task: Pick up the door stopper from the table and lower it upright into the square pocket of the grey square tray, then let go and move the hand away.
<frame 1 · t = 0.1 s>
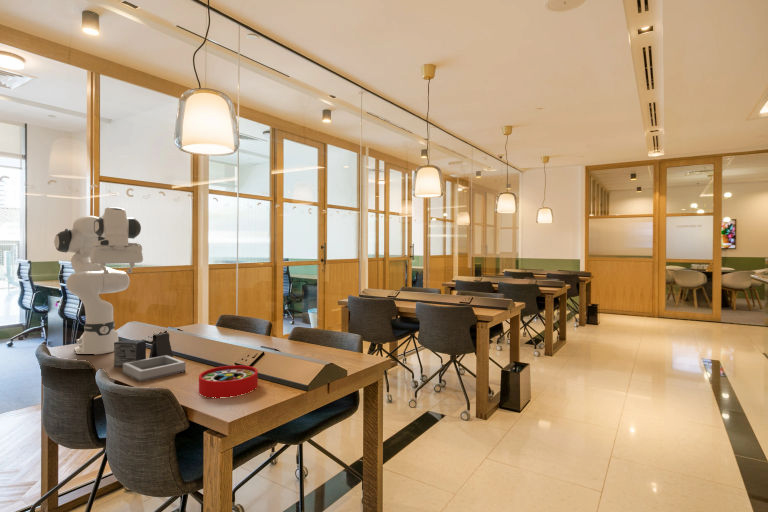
hand: (118, 273, 187), 39 cm above the table, tool pointing down, fingers open, 8 cm apart
small box: (130, 365, 179), on the table
door stopper: (161, 360, 188), on the table
toy clock: (228, 389, 151), on the table
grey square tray: (154, 372, 169), on the table
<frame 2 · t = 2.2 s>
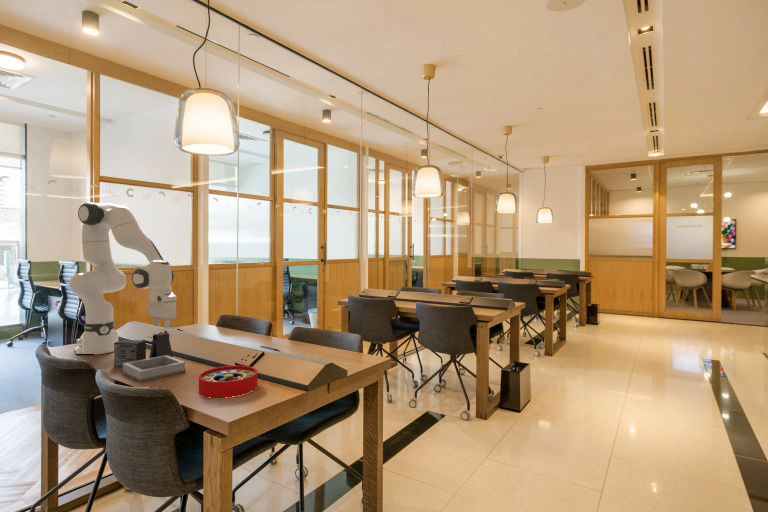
hand: (161, 327, 187), 15 cm above the table, tool pointing down, fingers open, 8 cm apart
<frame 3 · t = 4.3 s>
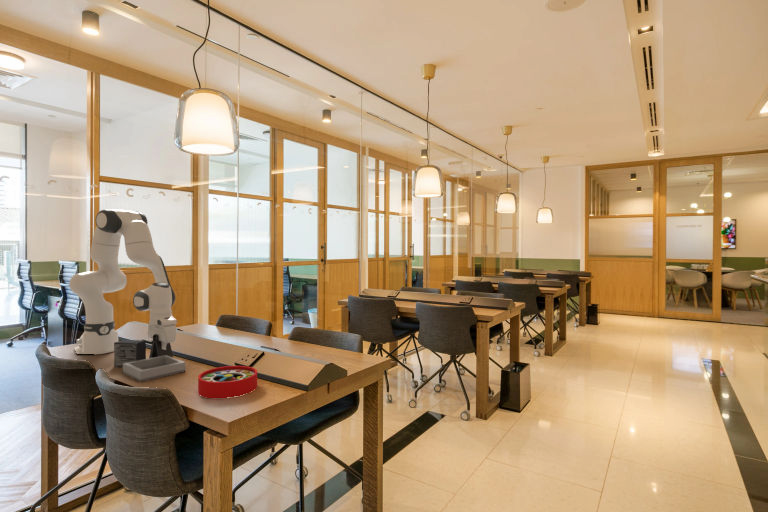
hand: (161, 349, 187), 5 cm above the table, tool pointing down, fingers closed on door stopper, 3 cm apart
door stopper: (161, 360, 188), on the table, touching gripper
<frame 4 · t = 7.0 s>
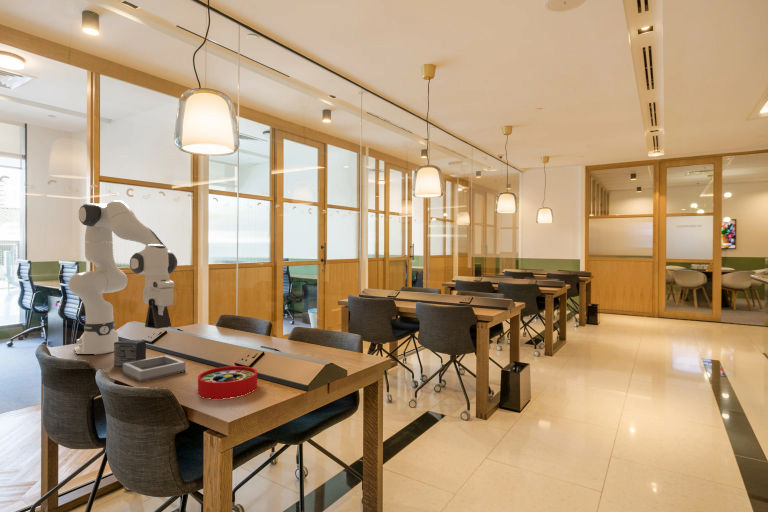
hand: (157, 315, 175), 22 cm above the table, tool pointing down, fingers closed on door stopper, 3 cm apart
door stopper: (158, 327, 175), point 17 cm above the table, touching gripper
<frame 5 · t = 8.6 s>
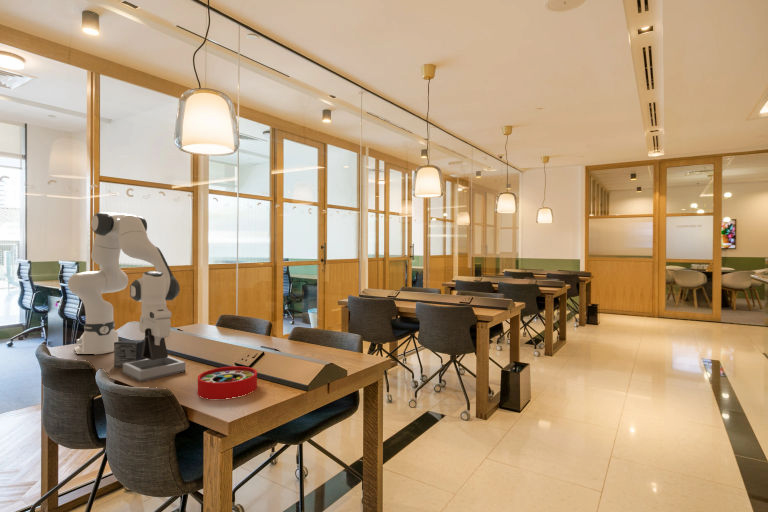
hand: (154, 345, 169), 11 cm above the table, tool pointing down, fingers closed on door stopper, 3 cm apart
door stopper: (154, 357, 169), point 6 cm above the table, touching gripper
when the fingers open (7 cm above the table, at t = 9.7 s): door stopper drops 1 cm, resting on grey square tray.
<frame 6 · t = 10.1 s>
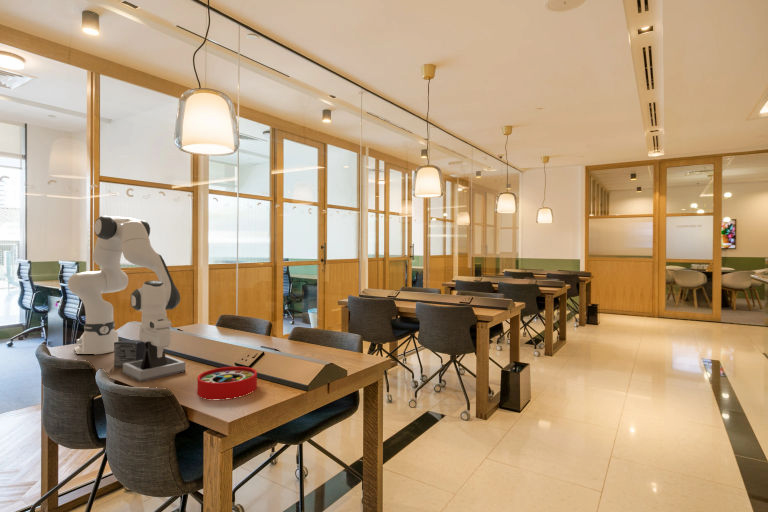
hand: (154, 355, 169), 7 cm above the table, tool pointing down, fingers open, 8 cm apart
door stopper: (154, 370, 169), point 1 cm above the table, touching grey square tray
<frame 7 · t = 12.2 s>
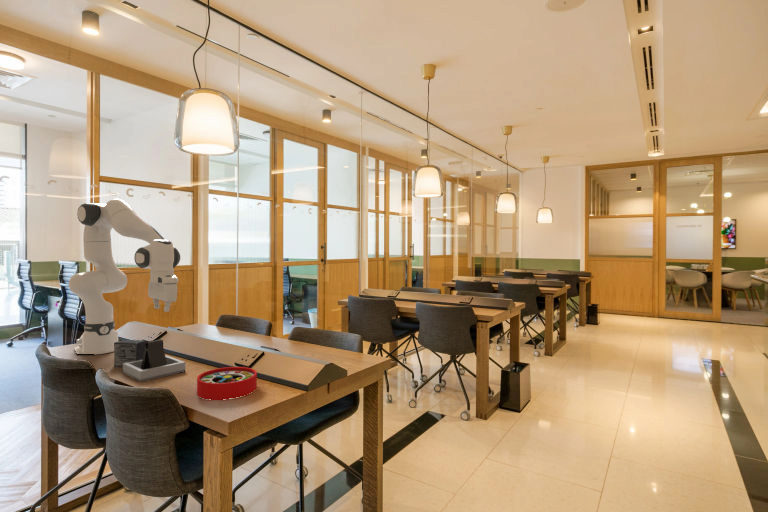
hand: (161, 310, 178), 24 cm above the table, tool pointing down, fingers open, 8 cm apart
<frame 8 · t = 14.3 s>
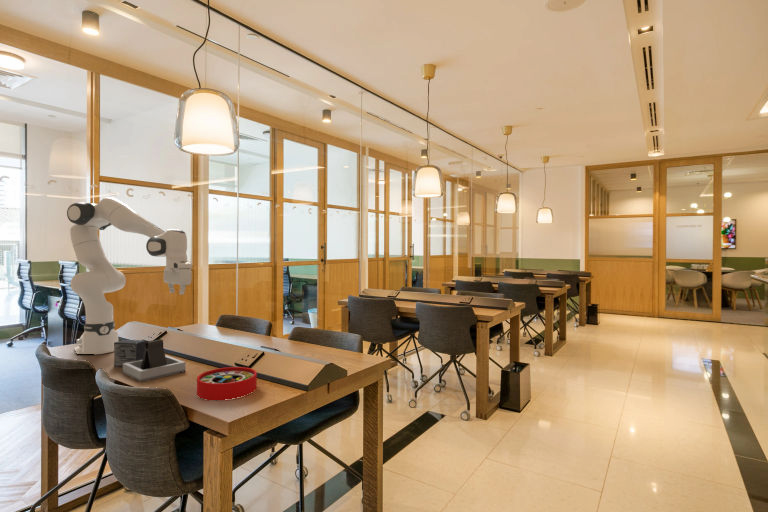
hand: (176, 293, 194), 29 cm above the table, tool pointing down, fingers open, 8 cm apart
at the end: door stopper 0.1 cm off-centre on the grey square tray, point 0.8 cm above the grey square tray's base; door stopper tilted 0°; the gripper is holding nothing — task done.
